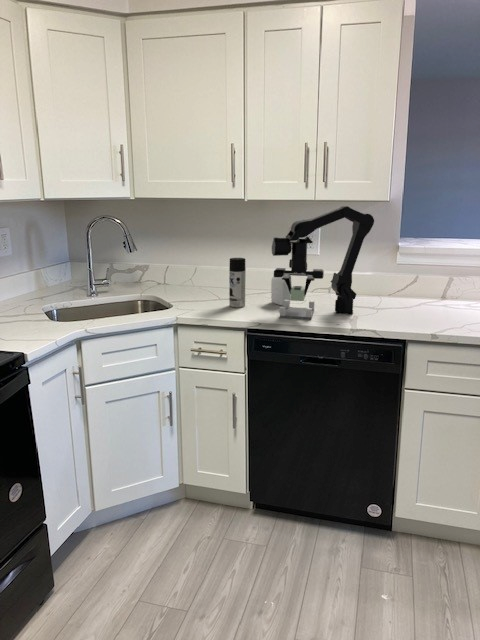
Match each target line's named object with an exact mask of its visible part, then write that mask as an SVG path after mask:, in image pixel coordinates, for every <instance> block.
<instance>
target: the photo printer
mask: <svg viewBox="0 0 480 640" xmlns="http://www.w3.org/2000/svg"><path fill="white" fill-rule="evenodd" d="M282 278H283V276H282V277H274V275H273V277H272V278H271V281H270V282H271V283H270V285H271V287H270V289H271V290H270V293H271V295H270V299H271V303H273V304H275V305H279V306H281V307H284V300H290V292H289V289H288V286H287V284H286V282H285V280H282Z"/></svg>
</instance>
